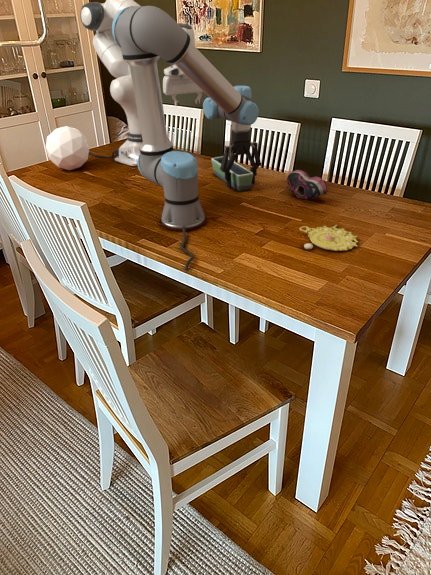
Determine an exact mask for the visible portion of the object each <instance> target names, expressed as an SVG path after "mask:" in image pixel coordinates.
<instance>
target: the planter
mask: <svg viewBox="0 0 431 575" xmlns="http://www.w3.org/2000/svg"><path fill="white" fill-rule="evenodd" d="M210 159H211V160H210V162H211V165H212V170H213V174H214V175H215V176H216V177H218V178H219V179H220V180H222V181H223V182H225V183H226V184H227V181H226V180H225V172H222V171H221V170H220V167H221V163H222V159H223V155H222V156H215V157H211V158H210ZM229 159H230V157H229V158H228V161H229ZM227 163H228V162H227ZM230 173H231V188H233V189H235V190H236V191H238V192H242V191H249V190H250V188H251V185H252V184H251V182H252V178H253V173H252V172H251V171H250V169H248V168H246V167H244V166H243V165H241V164H239V163H237V162H236V161H234V163H233V165H232V167H231V170H230Z"/></svg>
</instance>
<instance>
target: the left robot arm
mask: <svg viewBox="0 0 431 575" xmlns="http://www.w3.org/2000/svg"><path fill="white" fill-rule="evenodd" d="M130 6H141V5H140V4H139V3H138V2H136V1H135V0H105V2H103V3H101V2H99V1H92V2H87V3H85V4H83V5H82V6H81V8H80V14H79V17H80V21H81V24H82V25H83V27H84V28H85V29H87V30H89V31H92V32H95V34H94V36H93V38H92V46H93V48H94V50H95V53H96V54H97V57H98V58H99V59H100V61H101V63H102V64H103V65H104V67H105V68H106V69H107V71H108V73H110V75H111V76H112V77H114V78H115V79H112V81H111V83H110V86H109V92H110V96H111V97H112V99H113V100H114V101H115V102H116V103H118V104H119V105H120V106H121V108H122V109H123V111H124V113H125V115H126V120H127V127H128V132H126V133H125V137H127V139H126V140H125V141H124V142H123V143H122V144H121V145H120V146H119V147H118V148H116V149H114V150H113V151H112V152H111V155H110V156H107V155H100V154H96V153H93V152H90V151H89V155H91V156H94V157H97V158H103V159H108V158H109V159H111V158H114V161H115V162H118V163H120V164H124V165H127V166H131V167H136V166H138V165H137V160H138V156H139V155H140V146H141V144H142V143H143V140H142V134H141V129H140V123H139V117H138V112H137V106H136V100H135V95H134V89H133V83H132V78H131V72H130V67H129V65H128V64H127V63H126V62H125V61H124V60H123V56H122V50H121V47H119V46H118V44H117V43H116V42H115V40H114V37H113V33H112V24H113V20H114V18H115V16H116V14H117V13H118V12H119V11H120V10H122V9H124V8H127V7H130ZM177 23H178V22H177ZM178 24H179V25H180V26H181V27H182V28H183V29H184V30H185V31H186V33H187V34H188V35H189V36H190V37H191V43H192V44H193V45H194V46H195V47H196V38H195V32H194V31H195V30H194V29H193V27H192V25H190V24H189V23H188V24H187V23H182V22H179V23H178ZM159 59H161V60H164V59H163V58H162V57H160V58H159ZM163 74H164V76H163V79H162V92H163V94H164V95H165V96H171V98H172V100H173V101H174V107H179V106H180V101H179V100H178V99H177V95H185V94H186V95H187V94H188V95H189V94H197V98H195V99H194V100H195V101H194V102H195V104H196V105H200V103H201V99H202V96H203V93H205V92H204V91H202V90H201V89H200V88H199V87H198V86H197V85H196V84H195V83H194V82H193V81H192V80H191V79H190V78H189V77H188V76H187V75H186V74H184V73H183V72H182V71H181V70H180V69H179V68H178V67H177V66H176V65H175V64H171V65H170V66H167V67H166V68H164V69H163ZM159 83H160V84H161V82H160V81H159ZM114 156H116V157H114Z"/></svg>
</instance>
